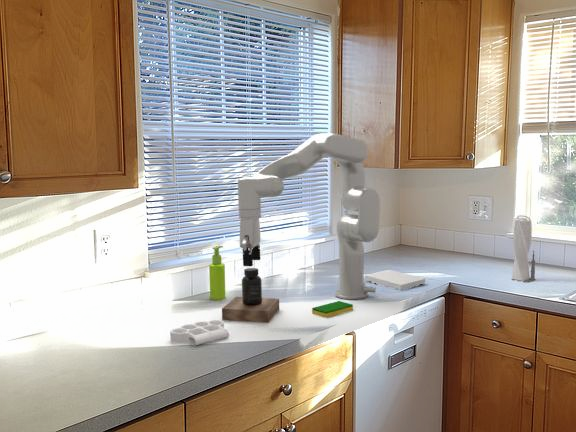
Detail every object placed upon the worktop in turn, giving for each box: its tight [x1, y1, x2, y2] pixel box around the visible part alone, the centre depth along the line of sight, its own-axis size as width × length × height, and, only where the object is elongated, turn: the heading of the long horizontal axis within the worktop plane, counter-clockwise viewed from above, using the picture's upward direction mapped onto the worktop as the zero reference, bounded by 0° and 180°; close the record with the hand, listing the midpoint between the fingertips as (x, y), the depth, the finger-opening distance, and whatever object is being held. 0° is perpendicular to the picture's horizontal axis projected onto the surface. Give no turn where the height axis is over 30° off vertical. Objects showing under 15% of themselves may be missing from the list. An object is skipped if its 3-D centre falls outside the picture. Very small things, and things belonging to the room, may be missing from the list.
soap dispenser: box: [208, 245, 226, 301], centre depth 230 cm, size 6×7×20 cm
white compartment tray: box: [169, 319, 230, 347], centre depth 185 cm, size 3×18×15 cm
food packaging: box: [364, 269, 426, 291], centre depth 252 cm, size 15×3×20 cm
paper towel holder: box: [511, 214, 537, 283], centre depth 254 cm, size 8×8×28 cm
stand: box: [221, 296, 280, 324], centre depth 208 cm, size 16×16×4 cm
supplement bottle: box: [241, 267, 263, 305], centre depth 207 cm, size 7×7×12 cm
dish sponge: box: [311, 300, 354, 318], centre depth 211 cm, size 7×14×2 cm, turn 131°
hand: (252, 262), depth 206 cm, fingers open, 9 cm apart
